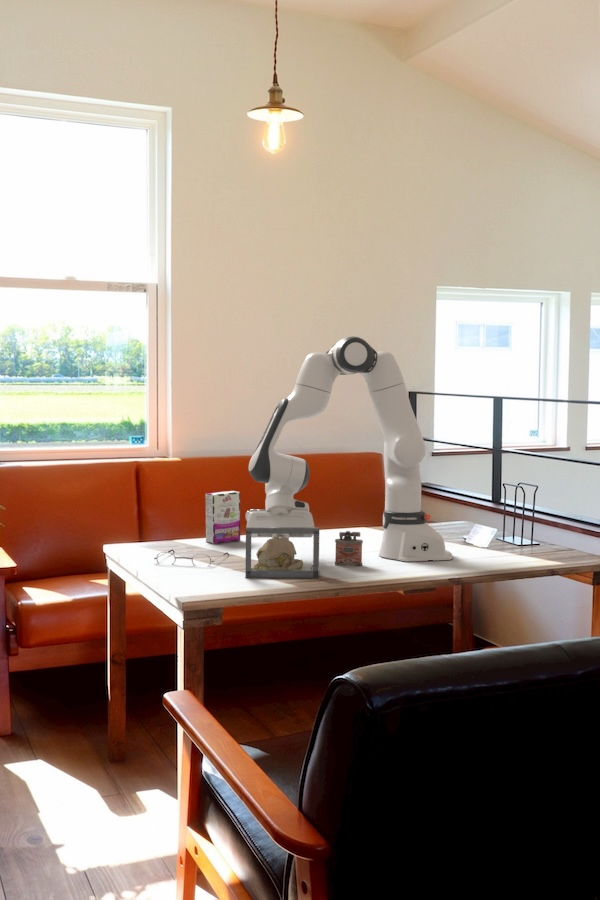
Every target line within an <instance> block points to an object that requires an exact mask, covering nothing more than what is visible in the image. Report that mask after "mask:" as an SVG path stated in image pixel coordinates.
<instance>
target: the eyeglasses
mask: <svg viewBox="0 0 600 900" xmlns="http://www.w3.org/2000/svg"><path fill="white" fill-rule="evenodd" d="M172 552H173V553H172ZM174 553H175V551H174V549H170V550H168V551H164V552H163V551H162V552H160V553H158V554H157V555H156V557H153V560H156V562H157V564H158V563H160V562H159V560H158V558H159V557H162V556H164V555H167V554H170V555H172V556H173V557H174V561H173V563H172V565H174V564H175V563H176V560H177V559H179V560H180V559H185V560H191V563H192V565H194V567H196V566H197V565H196V564H194V561H193V560H194V559H193V558H194V557H195V556H198V555H204V556H206V557H208V558H209V561H210V562H209V565H208V566H207V567H209V566H211V564H212V563H214V562H215V561H216V560H218V559H220V558H221V557H223V556H226V555H228V556H230V554H229V552H228V551H227V552H224V553H223V555H221V556H218V558H216V559H214V560H212V558H211V557H210V556H209V555H208V554H204V553H196V554H194V555H193V556H192V557H190V556H189V557H188V556H175V554H174ZM159 555H160V556H159Z"/></svg>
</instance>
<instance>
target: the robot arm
mask: <svg viewBox="0 0 600 900" xmlns="http://www.w3.org/2000/svg"><path fill="white" fill-rule="evenodd" d="M355 374H360V375H361V376H362V377H363V378H364V380H365V382H366V383H367V389H368V392H369V395H370V396H369V397H370V399H371V403H372V407H373V409H374V413H375V416H376V419H377V422H378V425H379V427H380V430H381V433H382V435H383V438H384V442H383V463H384V468H383V469H384V483H385V484H384V485H385V489H384V495H385V496H384V499H385V500H384V510H383V514H382V526H383V534H382V541H381V545H380V549H379V551H378V552H379V553H378V556H380V557H382V558H384V559H391V560H398V561H402V562H426V561H428V560H433V561H449V560H452V559H453V553H452V552H450V551H449V550H446V544H445V539H444V537H443V536H442V534H440V532H438V531H437V530H436V529H434V527H432V526H431V525H430V524H428V521H430V520H431V519H432V516H431V515H430V513H426V512H425V511H422V480H421V470H420V463H421V462H422V461H423V459H424V458H425V455H426V451H427V449H426V444H425V440H424V437H423V435H422V431H421V429H420V426H419V423H418V421H417V418H416V415H415V413H414V410H413V407H412V404H411V400H410V397H409V394H408V390H407V387H406V383H405V381H404V377H403V374H402V372H401V369H400V366H399V364H398V362H397V360H396V358H395V356H394V355H393V354H392V353H391V352H389V351H386V350H381V351H376V350H375V349H374V348H373V347H372V346H371V345H370V344H369V343H368V342H367V341H366V340H364V338H361V337H359V336H348V337H347V336H346V337H343V338H342V339H339V340H338V341H337V342H336V343H334V344H333V345H332V346H331V347H330V348H329V349H328V351H326V353H325V352H320V351H319V352H317V351H315V352H314V351H313V352H310V353H309V354H308V355H307V356H306V357H305V359H304V361H303V362H302V365H301V367H300V369H299V372H298V374H297V377H296V381H295V383H294V384H295V385H294V387H293V389H292V391H291V393H290V394H289V395H288V396H287V397H285V398H282V399H280V401H279V402H278V403H277V405H276V407H275V409H274V411H273V413H272V415H271V417H270V419H269V422H268V423H267V425H266V428H265V430H264V431H263V434H262V437H261V439H260V441H259V443H258V445H257V447H256V448H255V450H254V452H253V453H252V456H251V458H250V460H249V463H248V468H247V469H248V470H247V471H248V472H249V475H250V477H252V479H253V480H254V481H255V482H257V483H263V484H264V486H265V487H264V493H265V494H266V495H265V499H264V502H265V505H264V506H265V508H263V509H261V508H260V509H255V508H252V509H250V510H247V511H246V512H245V521H246V527H315V523H314V517H313V514H312V512H310V505H309V503H308V502H305V501H301V500H298V499H295V498H294V495H295V494H297V493H300V491H302V490H303V489H304V488H306V487H307V485H308V483H309V480H310V473H311V472H310V470H311V469H310V466H309V463H308V462H307V461H306V459H304V458H301V457H298V456H293V455H288V454H286V453H285V454H284V453H282V452H278V451H275V446H276V445H277V442H278V440H279V438H280V436H281V433H282V432H283V429H284V428H285V426H286V425H287V424H288V423H289V422H293V421H295V420H303V419H310V418H314V417H317V416H319V415H321V414H322V413H323V412H324V411H325V410H326V409H327V407H328V404H329V401H330V398H331V393H332V390H333V386H334V383H335V380H336V379H337V378H338V376H340V375H341V376H342V375H343V376H344V375H345V376H346V375H347V376H348V375H355ZM277 535H279V538H281V537H285V538H287V539H288V540H289V541H290V538H313V535H314V534H251V538H271V539H274V536H277ZM428 562H429V561H428Z"/></svg>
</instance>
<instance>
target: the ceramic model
mask: <svg viewBox="0 0 600 900" xmlns="http://www.w3.org/2000/svg"><path fill="white" fill-rule="evenodd" d="M296 555H297V551H296V547H295V545H294V543H293V542H292V541H291V540H290V539H289V540H288V539H287V538H285V537H279V535H277V536H274V539H272V538H269V539H267V540H266V541H265V542H264V544H263V545H262V546H261V547H259V549H258V550H257V552H256V558H257V562H258V563H256V564H255V565H254V566H253V567H251V570H303V569H302V568H303V565H304V561H303V559H299V558H295V556H296Z"/></svg>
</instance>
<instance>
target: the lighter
mask: <svg viewBox="0 0 600 900" xmlns="http://www.w3.org/2000/svg"><path fill="white" fill-rule="evenodd" d="M338 535H339V538H336V539H334V542H335V560H334V565H335V566H340V567H363V542H364V541H363V539H357V537H359V538H360V537H361V532H360V531H352V532H351V531H350V530H346V531H339V534H338ZM352 537H353V538H352Z"/></svg>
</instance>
